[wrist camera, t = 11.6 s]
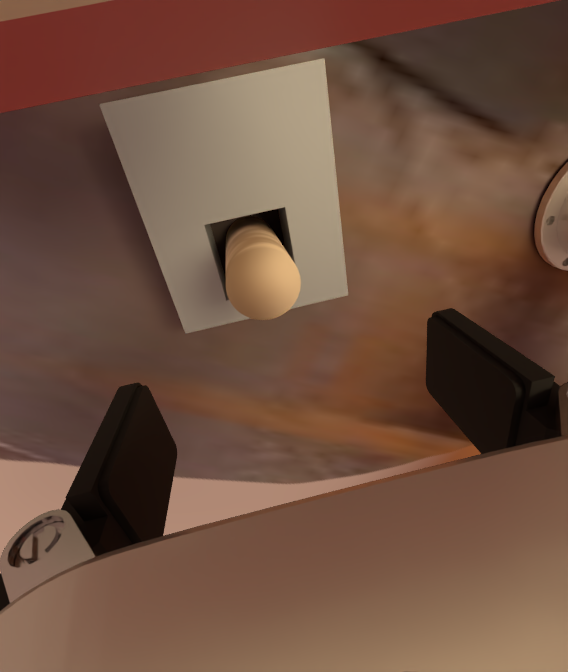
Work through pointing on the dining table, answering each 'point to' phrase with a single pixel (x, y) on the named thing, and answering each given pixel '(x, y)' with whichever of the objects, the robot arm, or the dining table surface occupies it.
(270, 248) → the peg
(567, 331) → the dining table surface
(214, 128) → the socket block
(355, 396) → the dining table surface
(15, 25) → the small side table
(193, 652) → the robot arm
